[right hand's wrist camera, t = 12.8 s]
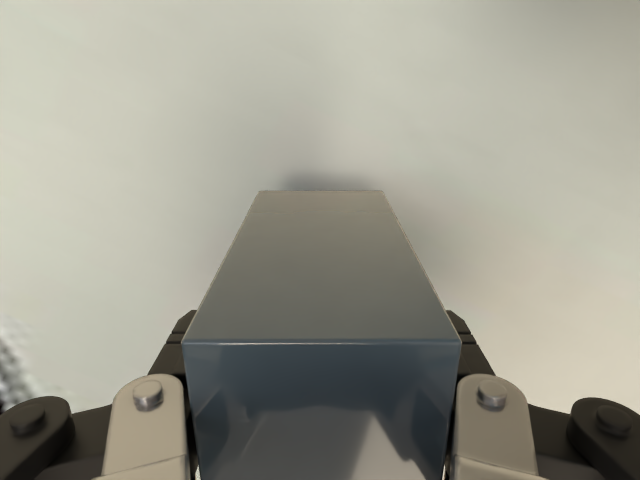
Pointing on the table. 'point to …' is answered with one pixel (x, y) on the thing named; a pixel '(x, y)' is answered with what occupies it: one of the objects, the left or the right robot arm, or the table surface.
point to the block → (321, 348)
